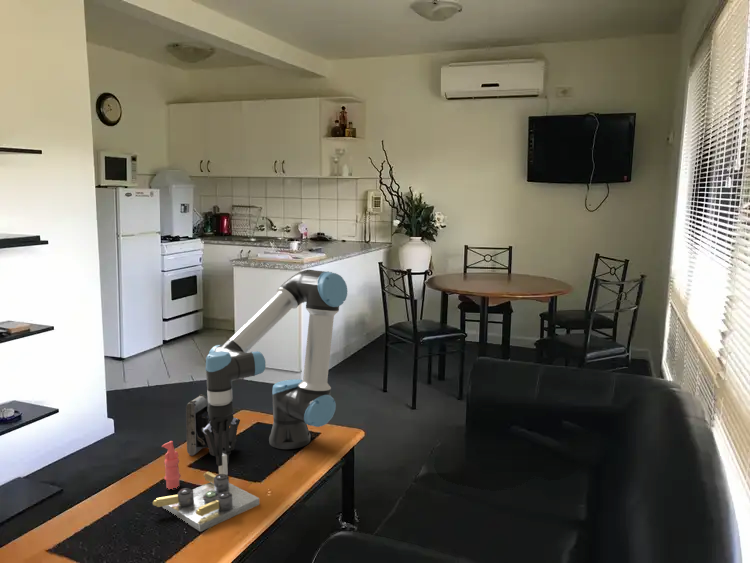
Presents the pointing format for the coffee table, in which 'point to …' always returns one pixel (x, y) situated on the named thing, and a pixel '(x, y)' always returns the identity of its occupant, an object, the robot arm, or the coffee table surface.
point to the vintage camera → (197, 424)
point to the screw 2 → (218, 481)
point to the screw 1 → (176, 498)
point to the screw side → (217, 504)
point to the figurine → (171, 466)
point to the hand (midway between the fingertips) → (223, 473)
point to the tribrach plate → (208, 494)
